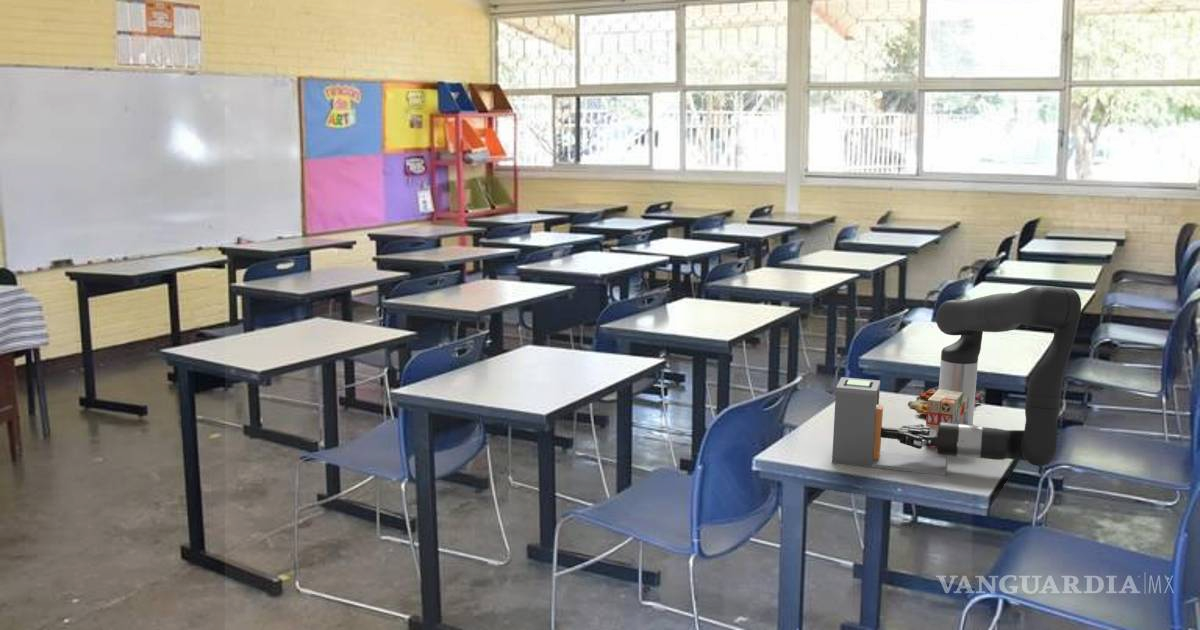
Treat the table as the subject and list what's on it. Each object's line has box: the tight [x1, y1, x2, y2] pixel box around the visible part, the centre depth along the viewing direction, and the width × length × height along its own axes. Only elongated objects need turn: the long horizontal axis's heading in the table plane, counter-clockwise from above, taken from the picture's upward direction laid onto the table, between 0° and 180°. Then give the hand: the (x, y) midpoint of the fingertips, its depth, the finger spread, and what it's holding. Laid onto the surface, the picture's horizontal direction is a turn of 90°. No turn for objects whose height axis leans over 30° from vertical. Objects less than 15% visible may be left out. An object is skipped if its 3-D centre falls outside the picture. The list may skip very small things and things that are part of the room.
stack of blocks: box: [925, 389, 969, 449], centre depth 260 cm, size 21×6×12 cm, turn 150°
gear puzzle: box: [907, 386, 984, 416], centre depth 291 cm, size 31×16×4 cm, turn 144°
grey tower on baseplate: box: [831, 376, 947, 476], centre depth 239 cm, size 11×25×18 cm, turn 71°
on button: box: [846, 379, 871, 388], centre depth 240 cm, size 5×5×5 cm
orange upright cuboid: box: [873, 403, 884, 460], centre depth 241 cm, size 4×8×12 cm, turn 71°
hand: (881, 432), depth 240 cm, fingers closed
